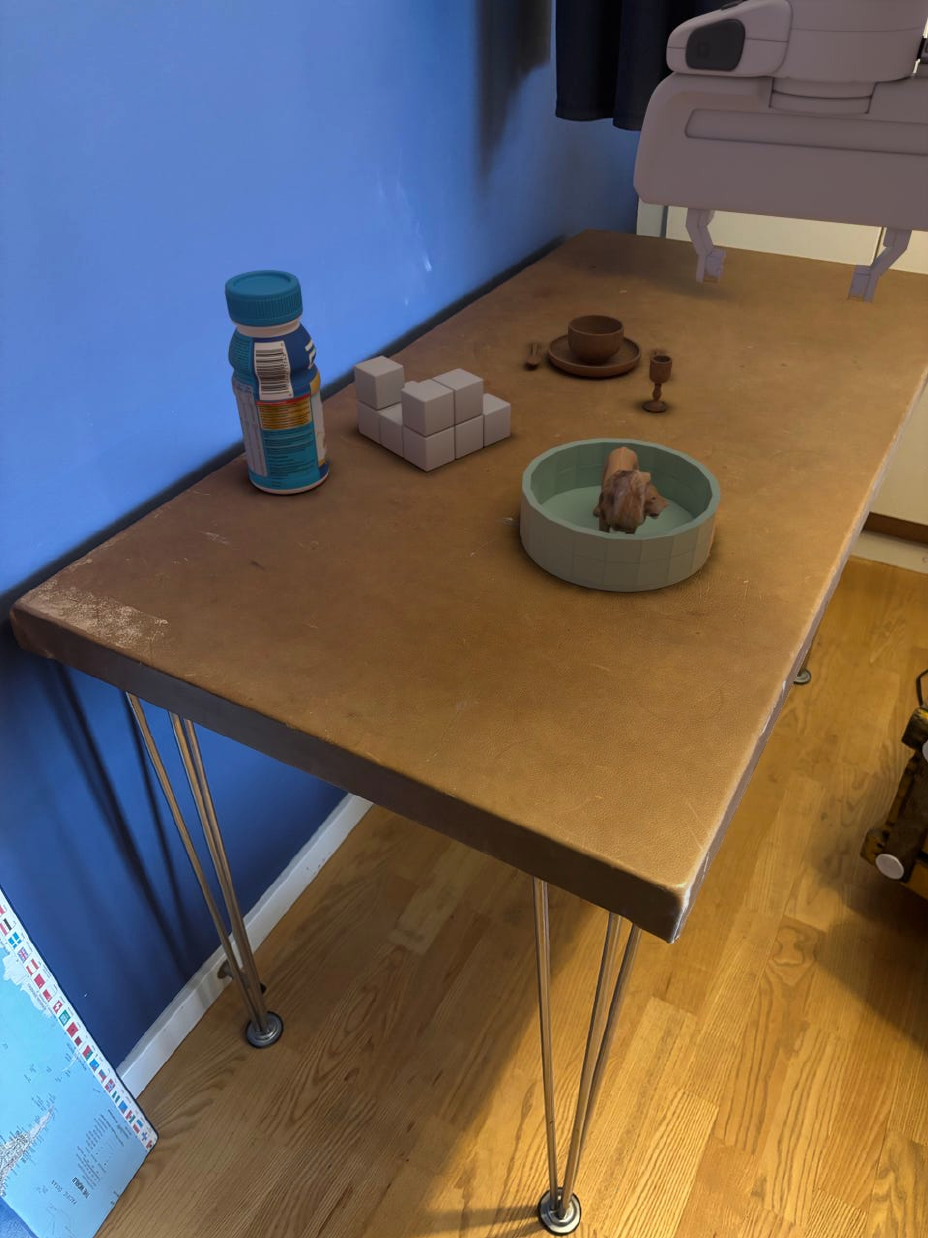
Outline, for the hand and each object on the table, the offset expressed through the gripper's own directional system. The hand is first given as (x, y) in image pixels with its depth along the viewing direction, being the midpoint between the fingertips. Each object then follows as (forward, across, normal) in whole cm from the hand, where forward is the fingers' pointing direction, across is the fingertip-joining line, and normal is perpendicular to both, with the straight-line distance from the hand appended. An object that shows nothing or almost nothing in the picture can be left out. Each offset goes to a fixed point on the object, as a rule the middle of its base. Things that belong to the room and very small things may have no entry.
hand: (782, 289), depth 58 cm
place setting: (+27, +23, -43) cm, 56 cm away
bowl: (+27, +11, -9) cm, 31 cm away
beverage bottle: (+27, +45, -7) cm, 53 cm away
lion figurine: (+27, +10, -9) cm, 30 cm away
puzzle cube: (+27, +35, -21) cm, 49 cm away
